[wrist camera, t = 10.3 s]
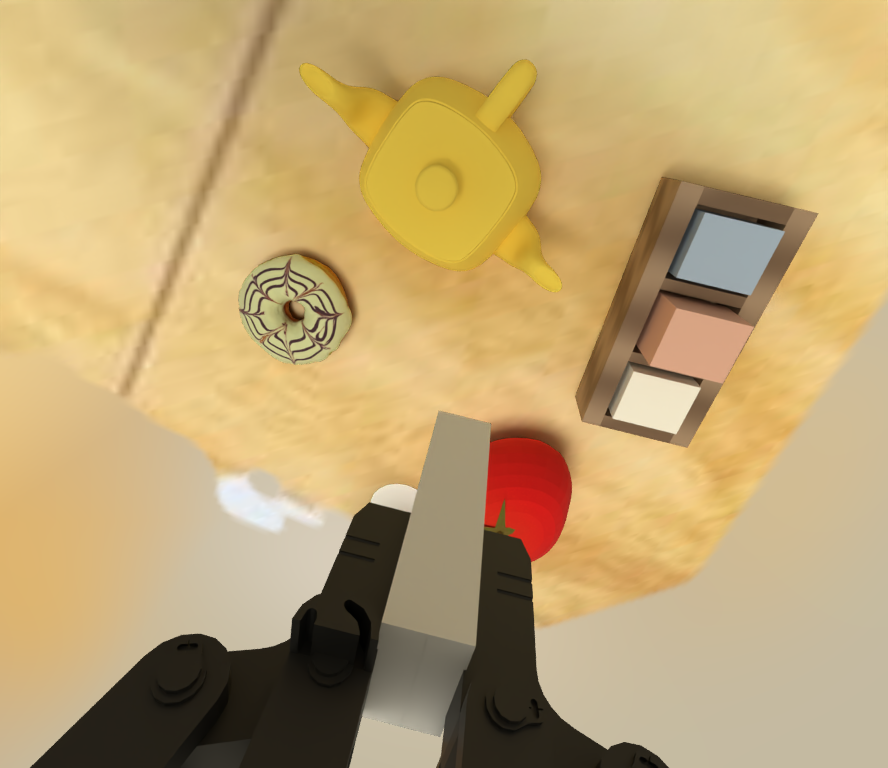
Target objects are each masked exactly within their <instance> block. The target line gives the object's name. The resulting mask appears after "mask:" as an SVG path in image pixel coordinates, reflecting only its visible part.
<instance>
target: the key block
mask: <svg viewBox="0 0 888 768" xmlns="http://www.w3.org/2000/svg"><path fill="white" fill-rule="evenodd" d="M695 208H697V209H701V210H706V211H710V212H714V213H718V214H722V215H726V216H731V217H735V218H739V219H743V220H747V221H752V222H755V223H758V224H762V225H765V226H768V227H772V228H775V229H778V230H781V231H785V233H784V235H783V236H782V238H781V240H780V242H779V244H778V246H777V248H776V249H775V251H774V253H773V255H772V257H771V259H770V261H769V262H768V264H767V266H766V268H765V270H764V272H763V274H762V275H761V277H760V279H759V281H758V283H757V285H756V287H755V289H754V290H753V292H752V294H751V295H747V294H742V293H738V292H734V291H730V290H726V289H722V288H718V287H713V286H709V285H705V284H701V283H697V282H693V281H689V280H684V279H680V278H676V277H675V276H674V275H672V274H671V273H670V272H668V269H669V267H670V265H671V263H672V260H673V258H674V256H675V253H676V251H677V249H678V247H679V244H680V242H681V240H682V238H683V235H684V233H685V231H686V228H687V226H688V224H689V222H690V219H691V217H692V215H693V212H694V210H695ZM817 215H818V213H814V212H810V211H806V210H801V209H797V208H793V207H789V206H785V205H780V204H776V203H772V202H768V201H764V200H759V199H755V198H751V197H747V196H743V195H738V194H734V193H730V192H726V191H722V190H717V189H713V188H709V187H705V186H701V185H696V184H692V183H688V182H684V181H679V180H674V179H669V178H664V177H662V178H661V180H660V183H659V185H658V188H657V191H656V193H655V196H654V198H653V201H652V203H651V206H650V208H649V211H648V213H647V216H646V218H645V221H644V223H643V226H642V228H641V231H640V234H639V236H638V239H637V241H636V244H635V246H634V249H633V251H632V254H631V256H630V259H629V261H628V264H627V266H626V269H625V272H624V274H623V277H622V279H621V282H620V284H619V287H618V289H617V292H616V294H615V297H614V299H613V302H612V304H611V307H610V309H609V312H608V315H607V317H606V320H605V322H604V325H603V327H602V330H601V332H600V335H599V337H598V340H597V342H596V345H595V347H594V350H593V353H592V355H591V358H590V360H589V363H588V365H587V368H586V370H585V373H584V375H583V378H582V380H581V383H580V385H579V388H578V390H577V393H576V396H575V397H576V401H577V405H578V409H579V412H580V416H581V420H582V422H586V423H590V424H594V425H598V426H602V427H606V428H610V429H614V430H618V431H622V432H626V433H630V434H634V435H638V436H642V437H646V438H650V439H654V440H658V441H662V442H667V443H671V444H675V445H679V446H683V447H688V446H689V444H690V442H691V440H692V438H693V437H694V435H695V433H696V431H697V430H698V428H699V426H700V424H701V422H702V421H703V419H704V417H705V415H706V413H707V412H708V410H709V408H710V406H711V405H712V403H713V401H714V399H715V397H716V396H717V394H718V392H719V390H720V388H721V387H722V385H723V384H722V383H718V382H714V381H710V380H706V379H702V378H698V377H694V376H691V377H693V378H694V380H695V381H696V382H697V383H698V385H699V386H700V387H701V389H700V391H699V393H698V395H697V397H696V398H695V400H694V402H693V404H692V406H691V408H690V410H689V411H688V413H687V415H686V417H685V419H684V421H683V423H682V424H681V426H680V428H679V430H678V432H677V434H673V433H669V432H665V431H661V430H657V429H653V428H649V427H645V426H641V425H637V424H633V423H629V422H625V421H620V420H616V419H613V418H612V416H611V413H610V410H609V408H608V406H609V404H610V402H611V399H612V397H613V395H614V392H615V390H616V388H617V386H618V383H619V381H620V379H621V376H622V374H623V372H624V370H625V367H626V365H627V363H628V361H630V362H634V363H638V364H642V365H646V366H650V365H649V364H648V362H647V361H646V359H645V358H644V356H643V355H642V353H641V351H640V350H639V348H638V347H637V345H636V342H637V340H638V338H639V335H640V333H641V331H642V329H643V326H644V324H645V322H646V320H647V317H648V315H649V313H650V310H651V308H652V306H653V304H654V301H655V299H656V297H657V294H658V292H659V290H660V291H664V292H669V293H673V294H677V295H681V296H685V297H689V298H693V299H697V300H702V301H706V302H710V303H714V304H718V305H722V306H726V307H728V308H729V309H730V310H732V311H733V312H734V313H736V314H737V315H739V316H740V317H741V318H743V319H744V320H745V321H747V322H748V323H749V324H751V325H752V326H754V328H755V326H756V324H757V322H758V321H759V319H760V317H761V315H762V313H763V312H764V310H765V308H766V306H767V305H768V303H769V301H770V299H771V297H772V296H773V294H774V292H775V290H776V288H777V287H778V285H779V283H780V281H781V280H782V278H783V276H784V274H785V272H786V271H787V269H788V267H789V265H790V263H791V262H792V260H793V258H794V256H795V255H796V253H797V251H798V249H799V247H800V246H801V244H802V242H803V240H804V238H805V237H806V235H807V233H808V231H809V229H810V228H811V226H812V224H813V222H814V221H815V219H816V217H817ZM754 328H753V330H754ZM753 330H752V331H753ZM751 333H752V332H751ZM750 335H751V334H750ZM750 335H749V337H750ZM749 337H748V338H749ZM747 340H748V339H747ZM746 342H747V341H746ZM745 344H746V343H745ZM745 344H744V346H745ZM744 346H743V347H744ZM742 349H743V348H742ZM741 351H742V350H741ZM740 353H741V352H740ZM740 353H739V355H740ZM739 355H738V356H739ZM737 358H738V357H737ZM736 360H737V359H736ZM736 360H735V362H736ZM735 362H734V363H735ZM733 365H734V364H733ZM650 367H653V366H650ZM732 367H733V366H732ZM654 368H657V367H654ZM658 369H661V368H658ZM731 369H732V368H731ZM731 369H730V371H731ZM662 370H665V369H662ZM666 371H669V370H666ZM730 371H729V372H730ZM670 372H673V371H670ZM675 373H677V372H675ZM679 374H681V373H679ZM728 374H729V373H728ZM683 375H685V374H683ZM687 376H689V375H687ZM727 376H728V375H727ZM726 378H727V377H726ZM726 378H725V380H726ZM725 380H724V381H725ZM723 383H724V382H723Z"/></svg>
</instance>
